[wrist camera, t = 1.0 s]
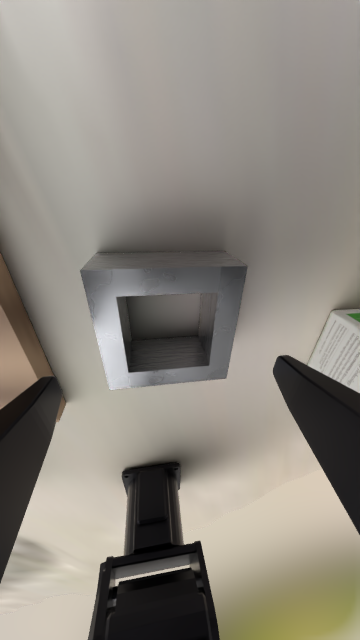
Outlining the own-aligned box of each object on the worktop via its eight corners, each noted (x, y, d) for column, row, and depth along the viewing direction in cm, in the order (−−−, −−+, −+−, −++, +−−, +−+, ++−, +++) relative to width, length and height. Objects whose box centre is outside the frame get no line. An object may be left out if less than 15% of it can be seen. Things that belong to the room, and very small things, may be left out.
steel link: (212, 347, 15) (226, 378, 12) (116, 355, 14) (109, 390, 12) (225, 250, 11) (247, 265, 9) (96, 253, 10) (80, 270, 8)
